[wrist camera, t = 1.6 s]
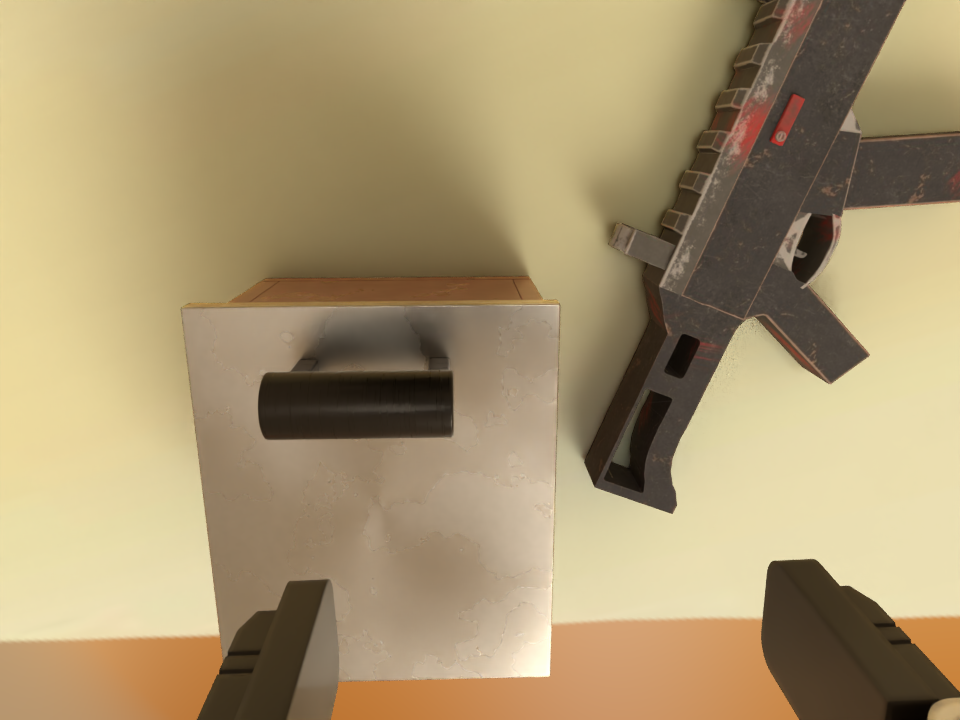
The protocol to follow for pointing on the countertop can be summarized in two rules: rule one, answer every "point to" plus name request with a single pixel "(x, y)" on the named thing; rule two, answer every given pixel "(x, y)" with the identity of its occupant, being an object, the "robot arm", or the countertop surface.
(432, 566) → the lid
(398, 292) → the open wooden cubby
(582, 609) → the countertop surface
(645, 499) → the toy gun
